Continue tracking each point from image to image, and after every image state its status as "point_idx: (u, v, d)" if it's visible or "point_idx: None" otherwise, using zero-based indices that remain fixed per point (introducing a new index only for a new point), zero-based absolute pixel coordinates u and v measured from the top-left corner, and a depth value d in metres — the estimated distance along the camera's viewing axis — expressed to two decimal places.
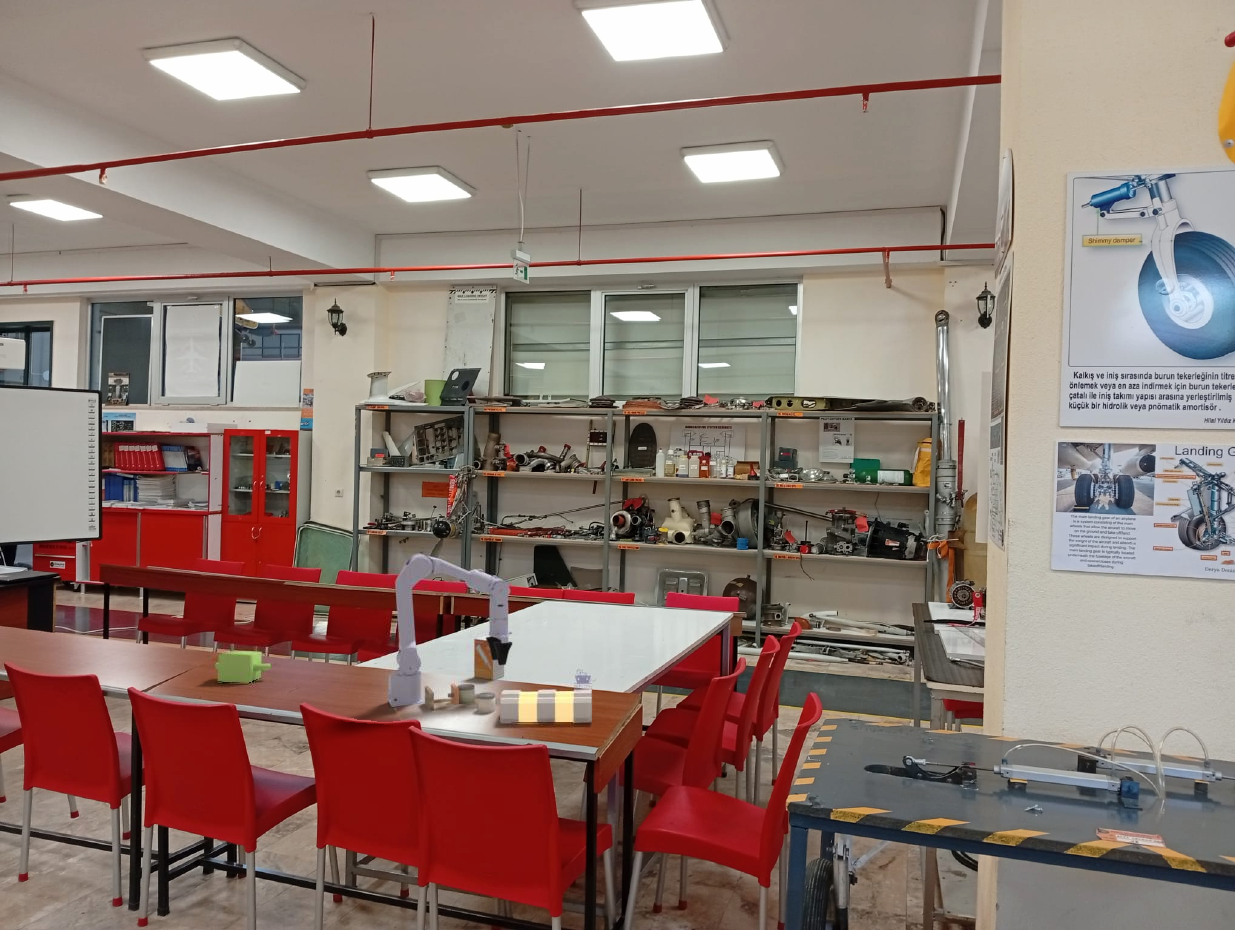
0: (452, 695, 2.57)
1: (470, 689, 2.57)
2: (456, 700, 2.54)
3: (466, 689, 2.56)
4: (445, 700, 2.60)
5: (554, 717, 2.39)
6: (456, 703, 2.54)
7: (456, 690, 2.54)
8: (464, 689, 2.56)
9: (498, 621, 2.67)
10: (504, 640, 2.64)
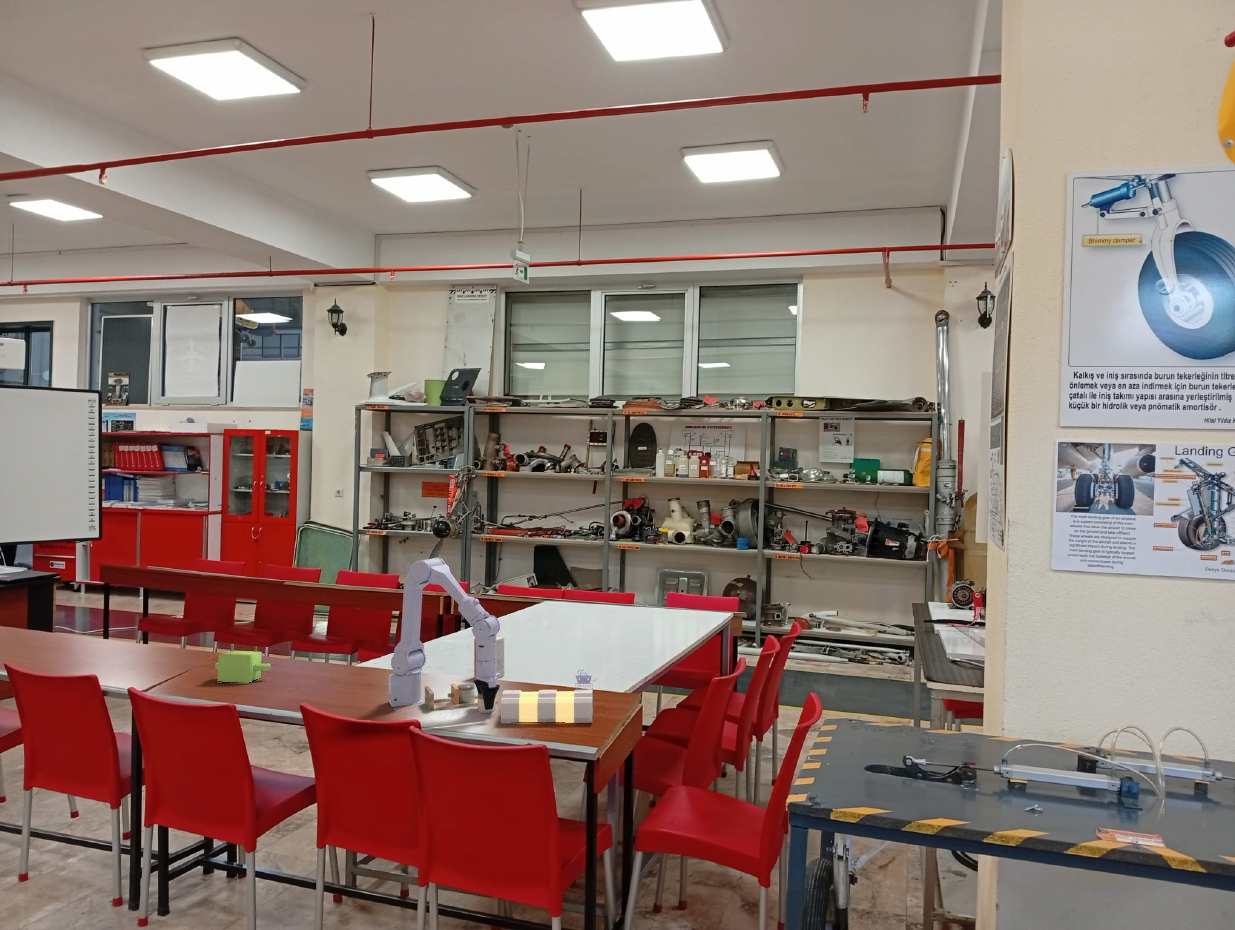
0: (452, 695, 2.57)
1: (470, 689, 2.57)
2: (456, 700, 2.54)
3: (466, 689, 2.56)
4: (445, 700, 2.60)
5: (555, 717, 2.39)
6: (456, 703, 2.54)
7: (456, 690, 2.54)
8: (464, 689, 2.56)
9: (485, 663, 2.48)
10: (491, 684, 2.44)
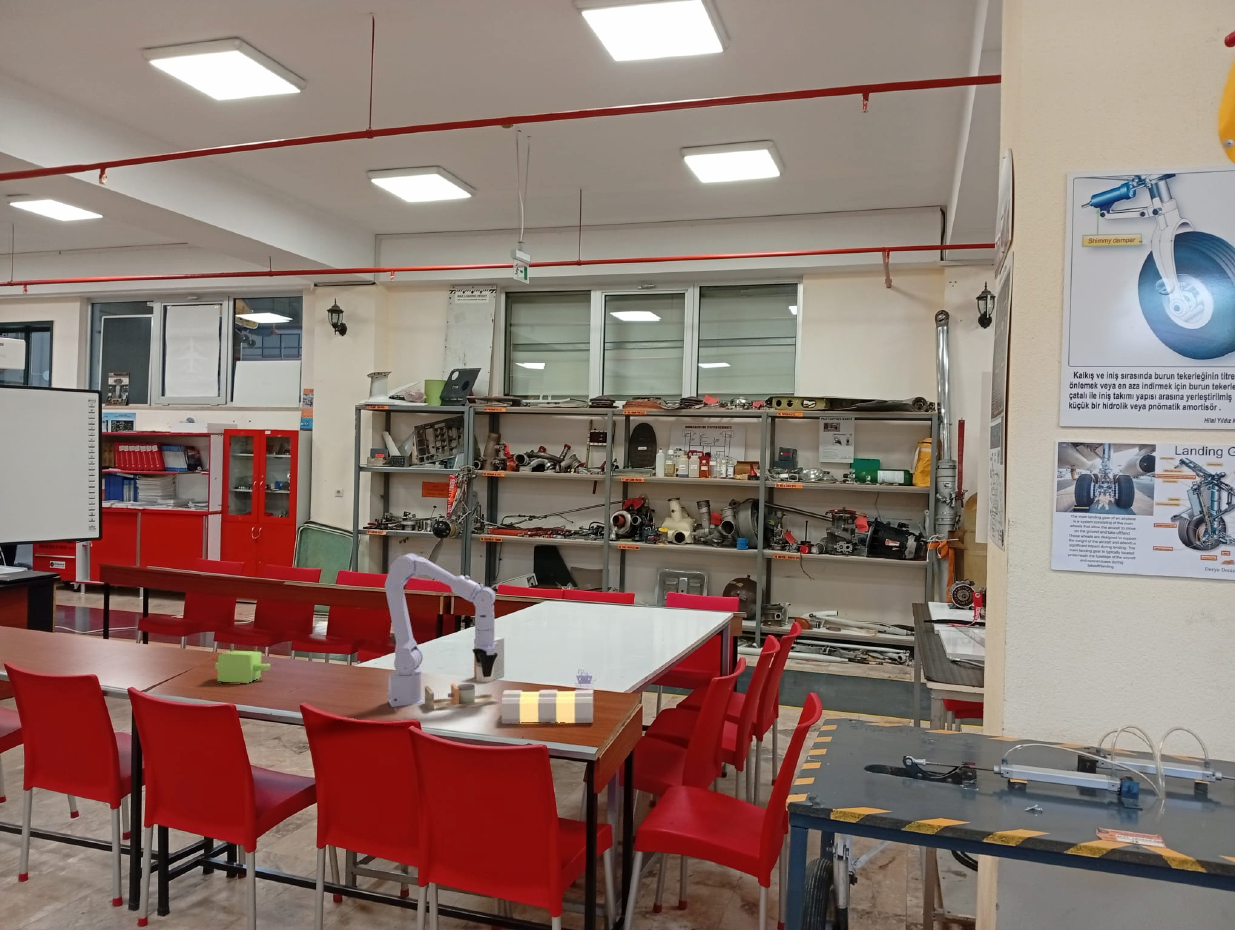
0: (452, 695, 2.57)
1: (470, 689, 2.57)
2: (456, 700, 2.54)
3: (466, 689, 2.56)
4: (445, 700, 2.60)
5: (555, 717, 2.39)
6: (456, 703, 2.54)
7: (456, 690, 2.54)
8: (464, 689, 2.56)
9: (484, 632, 2.58)
10: (489, 652, 2.54)
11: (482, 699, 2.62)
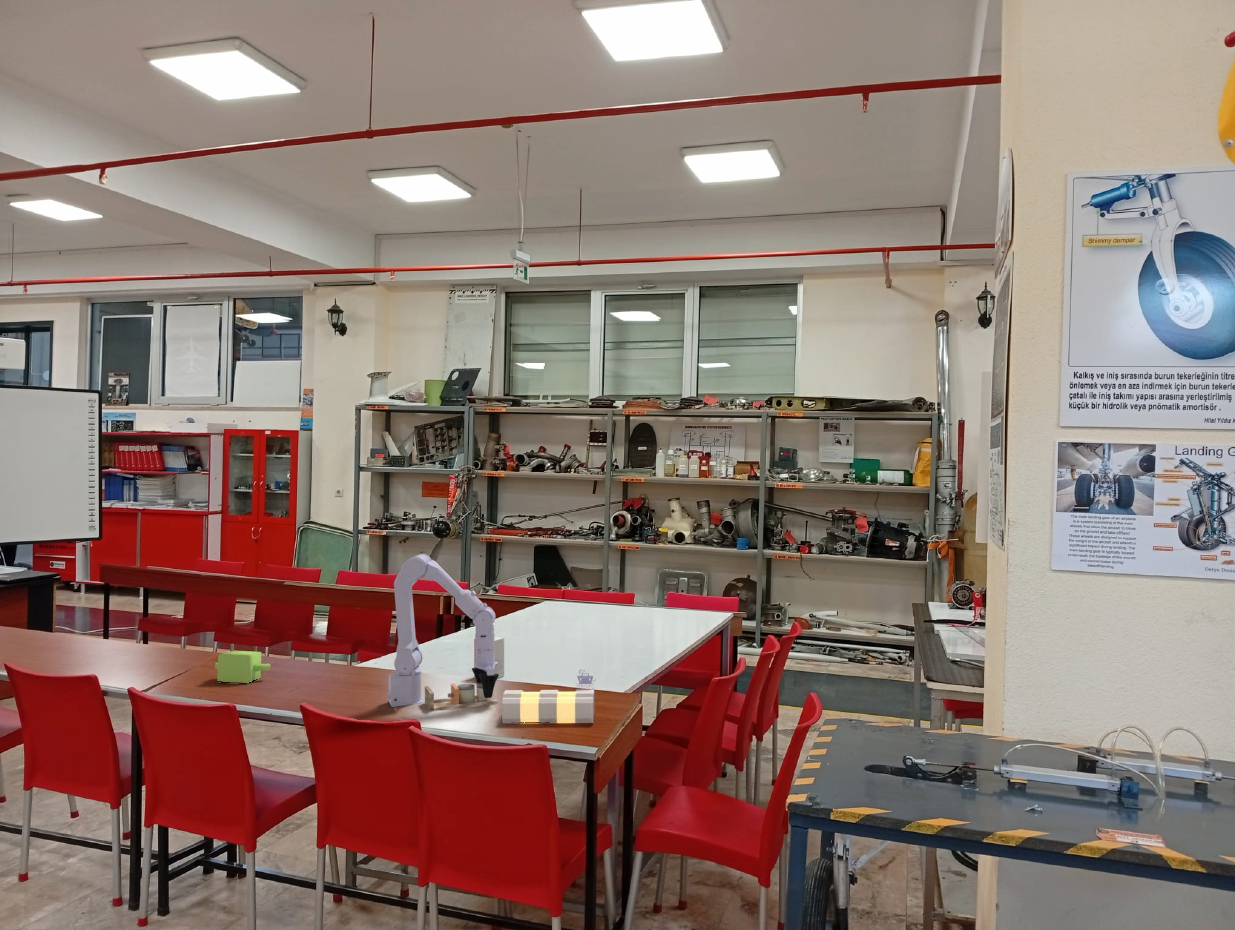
0: (452, 695, 2.57)
1: (470, 689, 2.57)
2: (456, 700, 2.54)
3: (466, 689, 2.56)
4: (445, 700, 2.60)
5: (556, 717, 2.39)
6: (456, 703, 2.54)
7: (456, 690, 2.54)
8: (464, 689, 2.56)
9: (484, 652, 2.58)
10: (490, 672, 2.54)
11: None
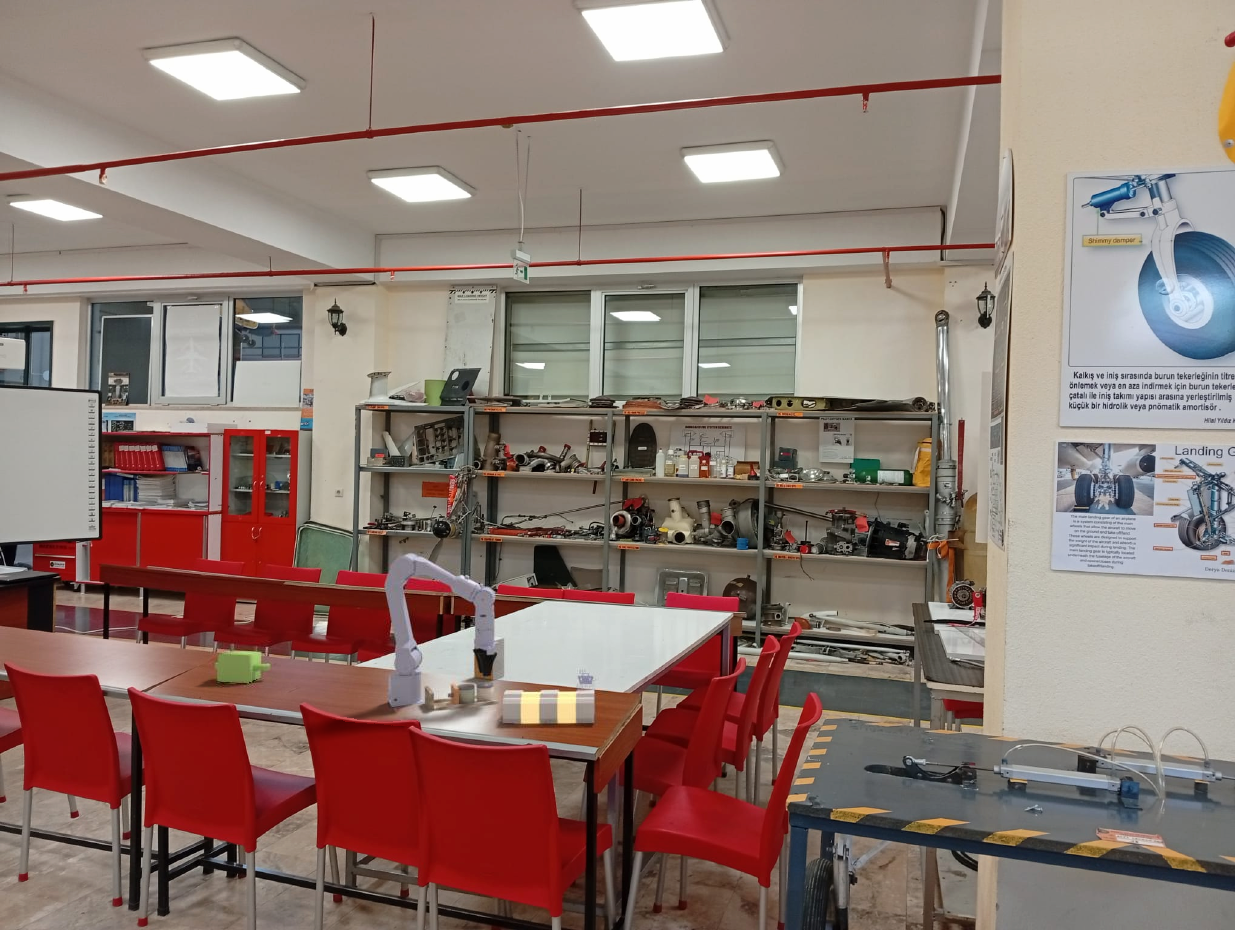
0: (452, 695, 2.57)
1: (470, 689, 2.57)
2: (456, 700, 2.54)
3: (466, 689, 2.56)
4: (445, 700, 2.60)
5: (556, 717, 2.39)
6: (456, 703, 2.54)
7: (456, 690, 2.54)
8: (464, 689, 2.56)
9: (484, 632, 2.58)
10: (490, 652, 2.54)
11: None
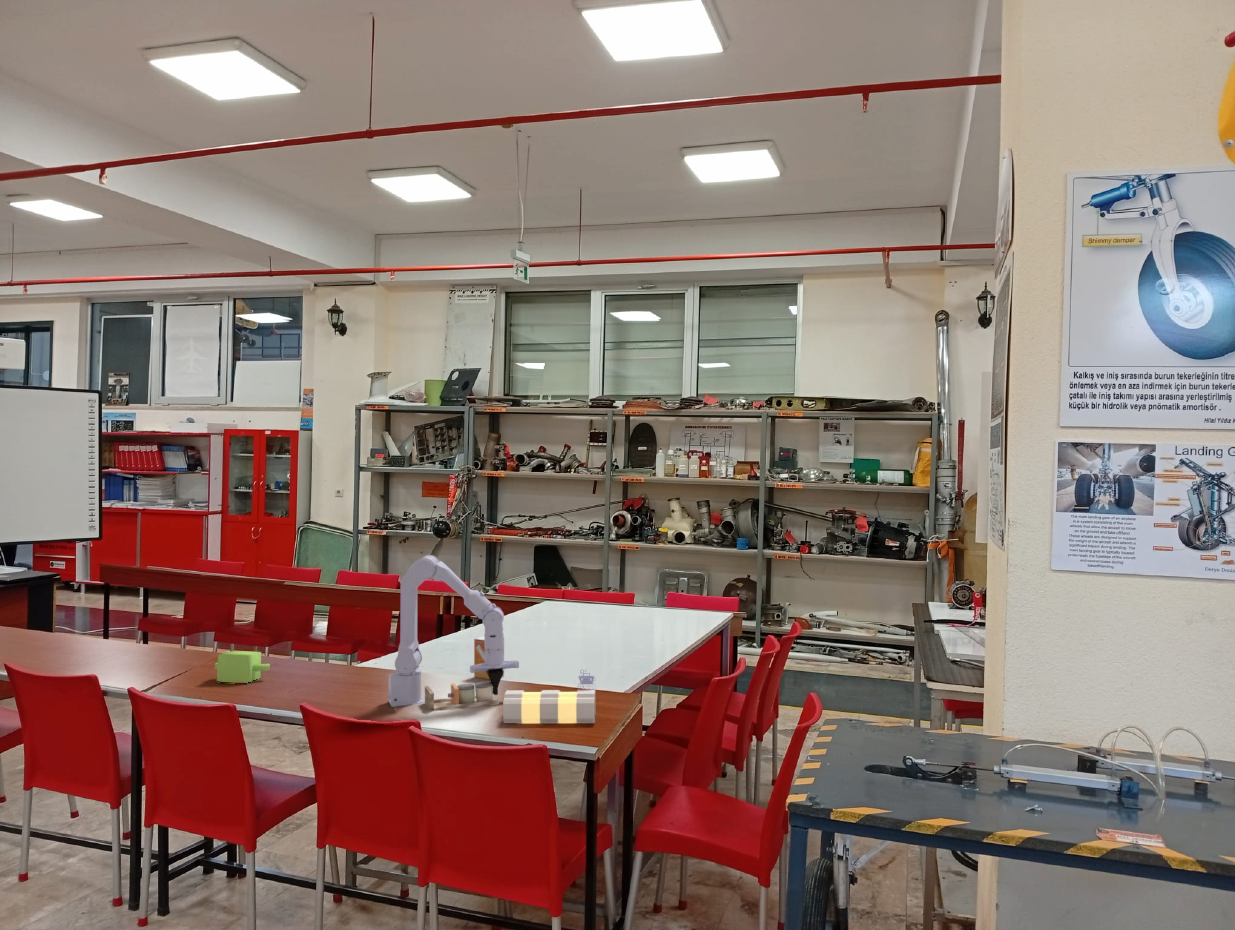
0: (452, 695, 2.57)
1: (470, 689, 2.57)
2: (456, 700, 2.54)
3: (466, 689, 2.56)
4: (445, 700, 2.60)
5: (557, 717, 2.39)
6: (456, 703, 2.54)
7: (456, 690, 2.54)
8: (464, 689, 2.56)
9: None
10: (470, 669, 2.59)
11: None
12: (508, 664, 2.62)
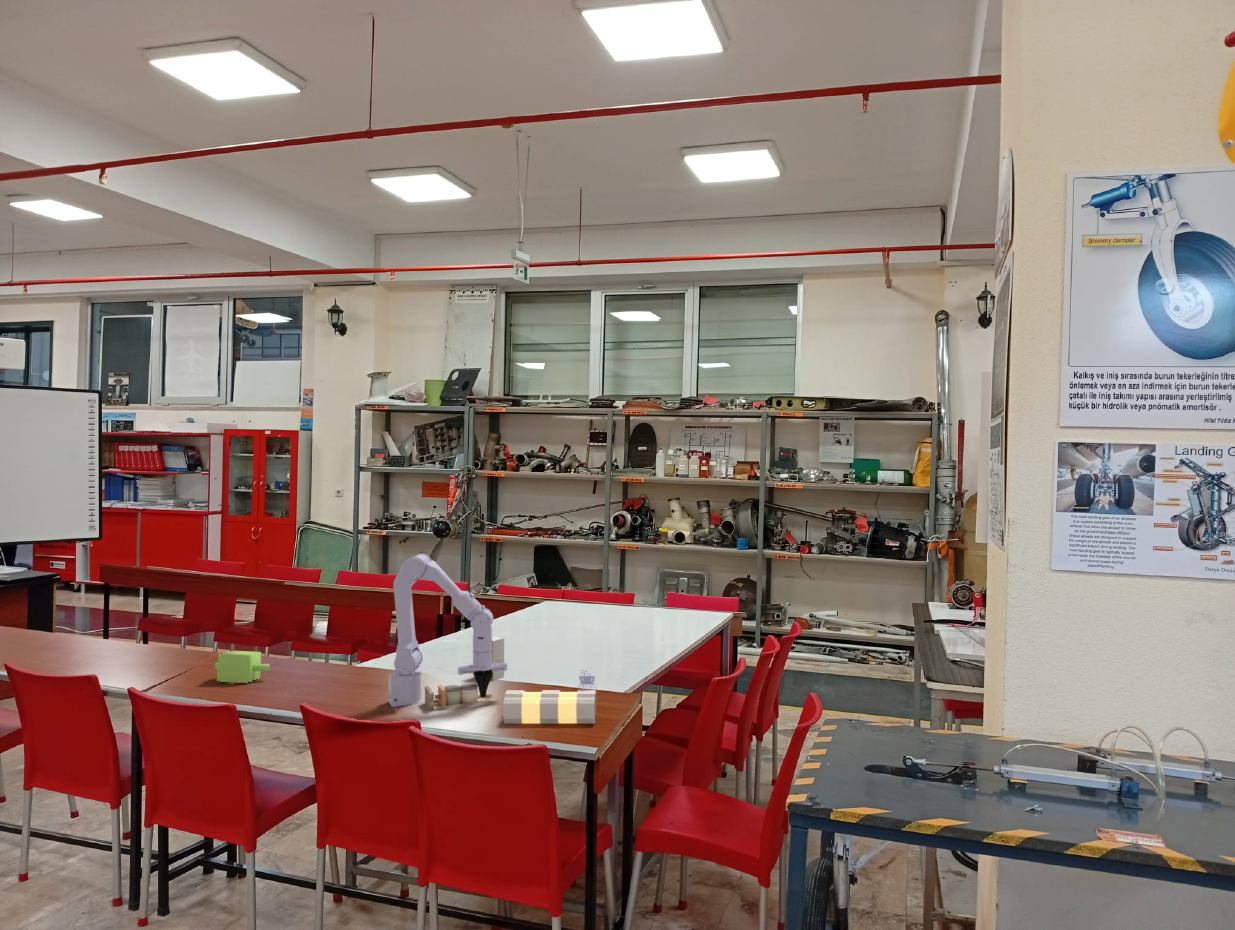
0: (439, 696, 2.55)
1: (457, 690, 2.55)
2: (443, 701, 2.53)
3: (453, 690, 2.55)
4: None
5: (557, 717, 2.39)
6: (443, 704, 2.53)
7: (443, 691, 2.53)
8: (451, 690, 2.55)
9: None
10: (458, 671, 2.58)
11: (482, 699, 2.62)
12: (496, 666, 2.60)
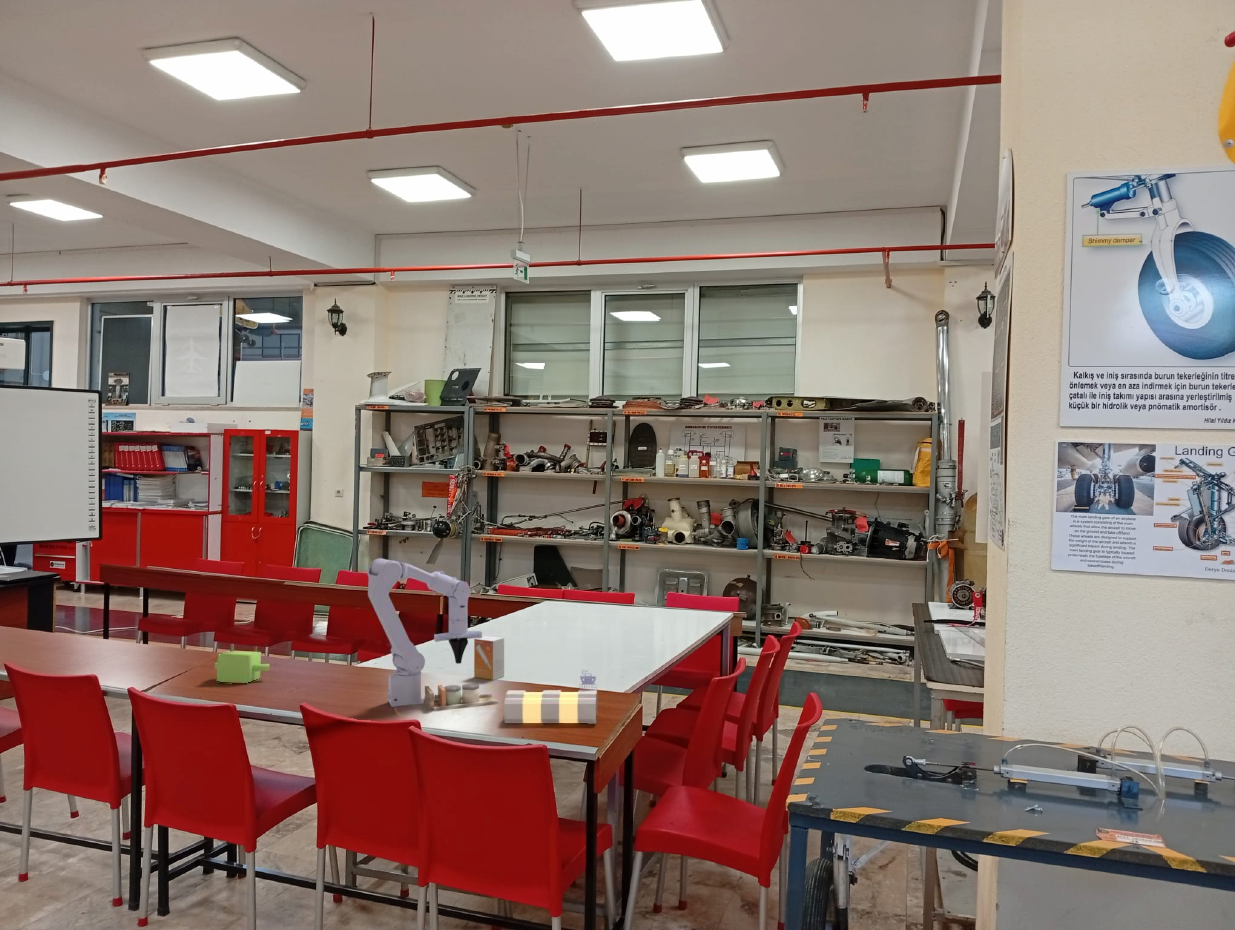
0: (439, 696, 2.55)
1: (456, 690, 2.55)
2: (443, 701, 2.53)
3: (452, 690, 2.55)
4: None
5: (558, 718, 2.38)
6: (443, 704, 2.53)
7: (443, 691, 2.53)
8: (450, 690, 2.55)
9: None
10: (434, 638, 2.69)
11: (482, 699, 2.62)
12: (471, 634, 2.72)
